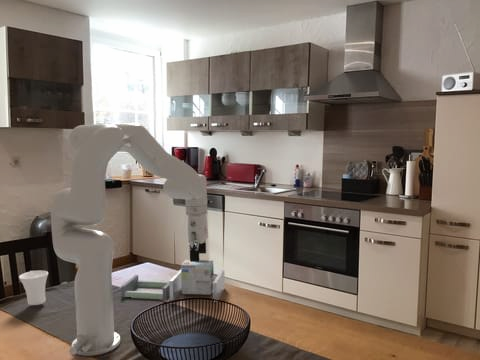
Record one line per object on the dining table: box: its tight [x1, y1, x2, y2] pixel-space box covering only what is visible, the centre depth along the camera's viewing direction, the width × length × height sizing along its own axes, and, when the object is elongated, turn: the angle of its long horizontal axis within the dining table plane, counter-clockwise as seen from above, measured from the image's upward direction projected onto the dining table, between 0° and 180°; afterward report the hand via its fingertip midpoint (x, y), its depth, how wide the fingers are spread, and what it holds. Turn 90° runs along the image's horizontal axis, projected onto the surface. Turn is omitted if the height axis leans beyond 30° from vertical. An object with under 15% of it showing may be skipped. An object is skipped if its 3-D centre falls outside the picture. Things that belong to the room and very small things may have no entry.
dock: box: [120, 274, 170, 300], centre depth 156 cm, size 12×16×4 cm
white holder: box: [168, 268, 226, 302], centre depth 153 cm, size 14×16×7 cm
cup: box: [18, 270, 49, 306], centre depth 144 cm, size 9×9×10 cm
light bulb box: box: [180, 259, 215, 295], centre depth 152 cm, size 11×7×11 cm, turn 84°
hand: (198, 257), depth 152 cm, fingers open, 9 cm apart
